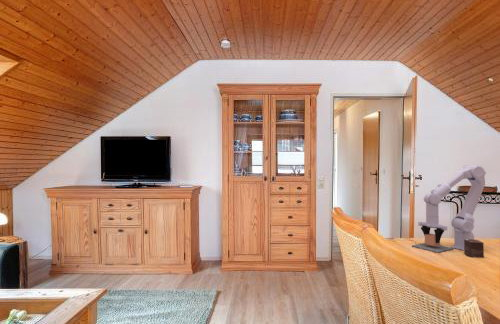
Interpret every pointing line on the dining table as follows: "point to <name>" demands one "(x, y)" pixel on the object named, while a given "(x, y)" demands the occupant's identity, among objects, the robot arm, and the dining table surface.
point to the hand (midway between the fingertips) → (432, 241)
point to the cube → (431, 240)
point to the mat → (433, 248)
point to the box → (473, 248)
